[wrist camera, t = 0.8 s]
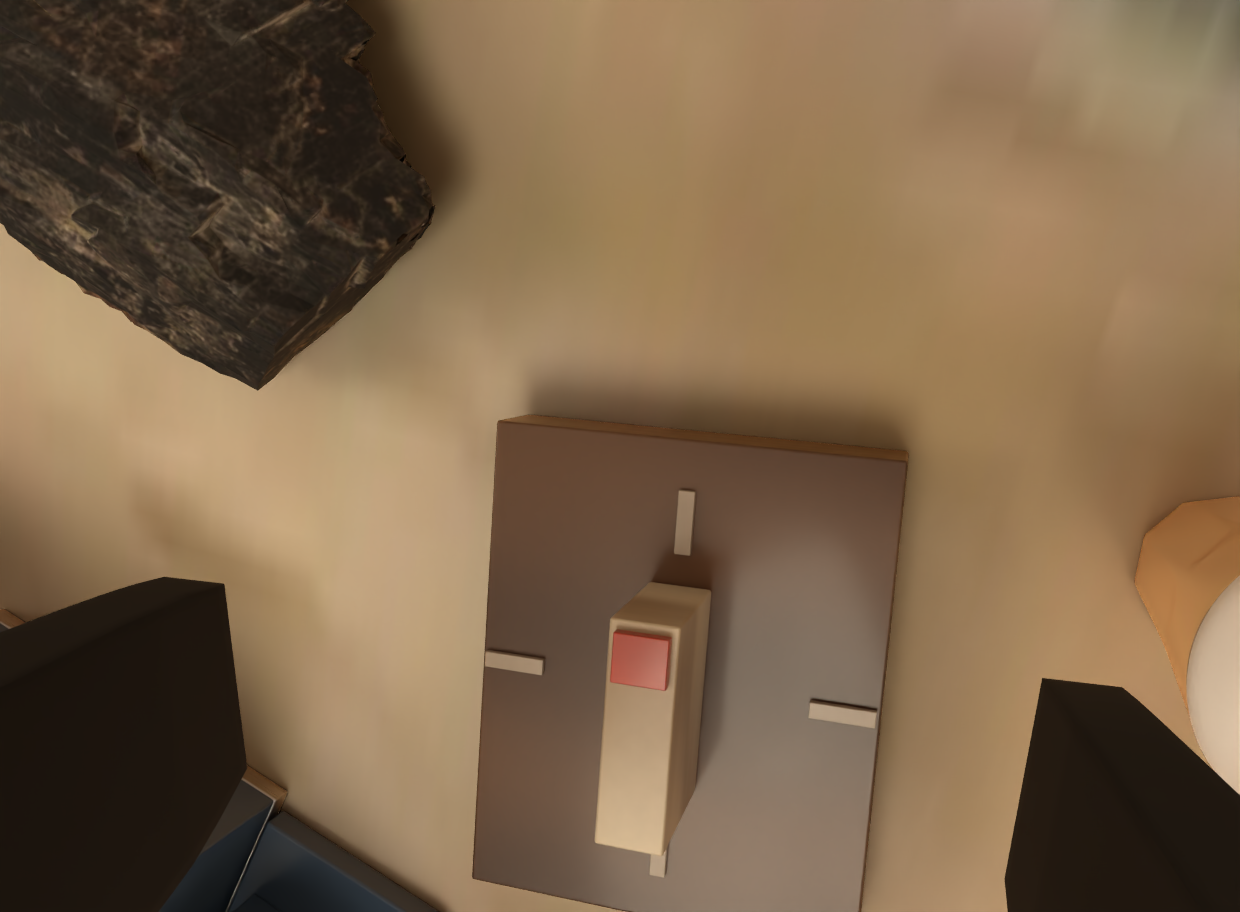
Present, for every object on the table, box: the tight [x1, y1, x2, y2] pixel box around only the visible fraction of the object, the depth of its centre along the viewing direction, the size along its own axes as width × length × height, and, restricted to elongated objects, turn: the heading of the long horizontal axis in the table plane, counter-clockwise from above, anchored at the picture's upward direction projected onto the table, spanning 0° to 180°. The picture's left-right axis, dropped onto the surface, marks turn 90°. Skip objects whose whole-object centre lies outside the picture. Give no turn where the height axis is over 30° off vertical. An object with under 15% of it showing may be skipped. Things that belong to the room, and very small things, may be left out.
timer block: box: [472, 415, 909, 912], centre depth 25 cm, size 11×9×2 cm
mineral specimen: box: [0, 0, 435, 390], centre depth 25 cm, size 13×7×15 cm
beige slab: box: [595, 582, 711, 856], centre depth 22 cm, size 5×1×4 cm, turn 176°
